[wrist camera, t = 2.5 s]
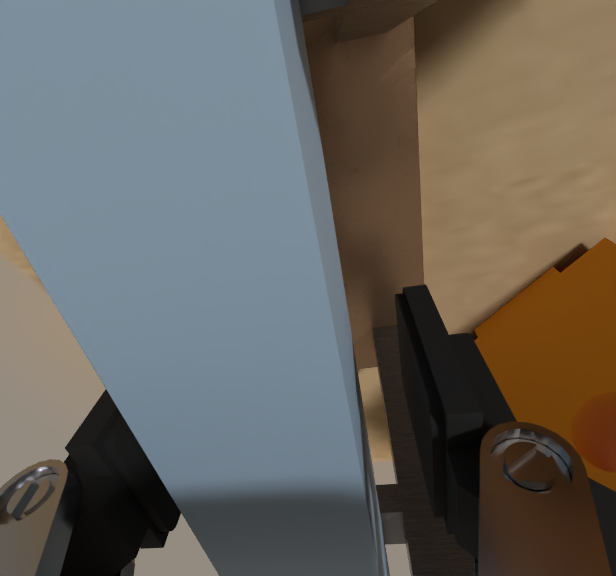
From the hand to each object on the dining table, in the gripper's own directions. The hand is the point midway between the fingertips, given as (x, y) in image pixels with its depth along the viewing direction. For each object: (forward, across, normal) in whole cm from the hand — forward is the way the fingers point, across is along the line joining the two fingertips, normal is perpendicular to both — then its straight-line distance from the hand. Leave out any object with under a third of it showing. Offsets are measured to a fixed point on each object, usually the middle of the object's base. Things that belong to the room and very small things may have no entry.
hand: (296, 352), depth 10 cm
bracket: (+12, -13, +10) cm, 20 cm away
